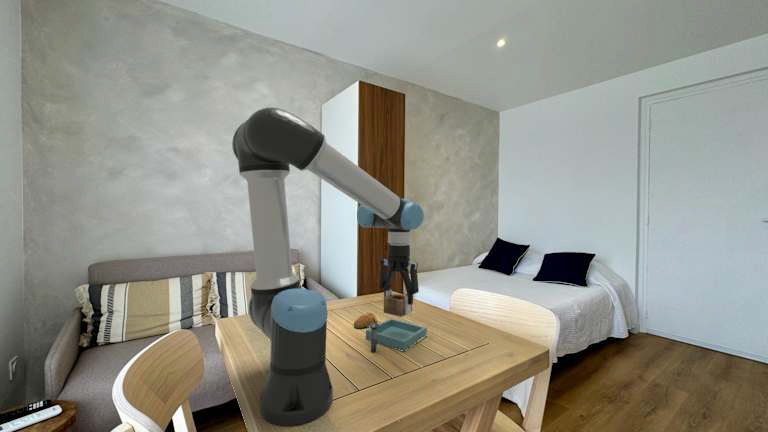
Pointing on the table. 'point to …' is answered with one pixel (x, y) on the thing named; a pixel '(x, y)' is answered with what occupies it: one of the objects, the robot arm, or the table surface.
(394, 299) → the collar
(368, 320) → the pastry
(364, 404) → the table surface
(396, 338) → the tray
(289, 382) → the robot arm
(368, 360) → the table surface
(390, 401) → the table surface
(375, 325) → the metal bolt
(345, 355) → the table surface
